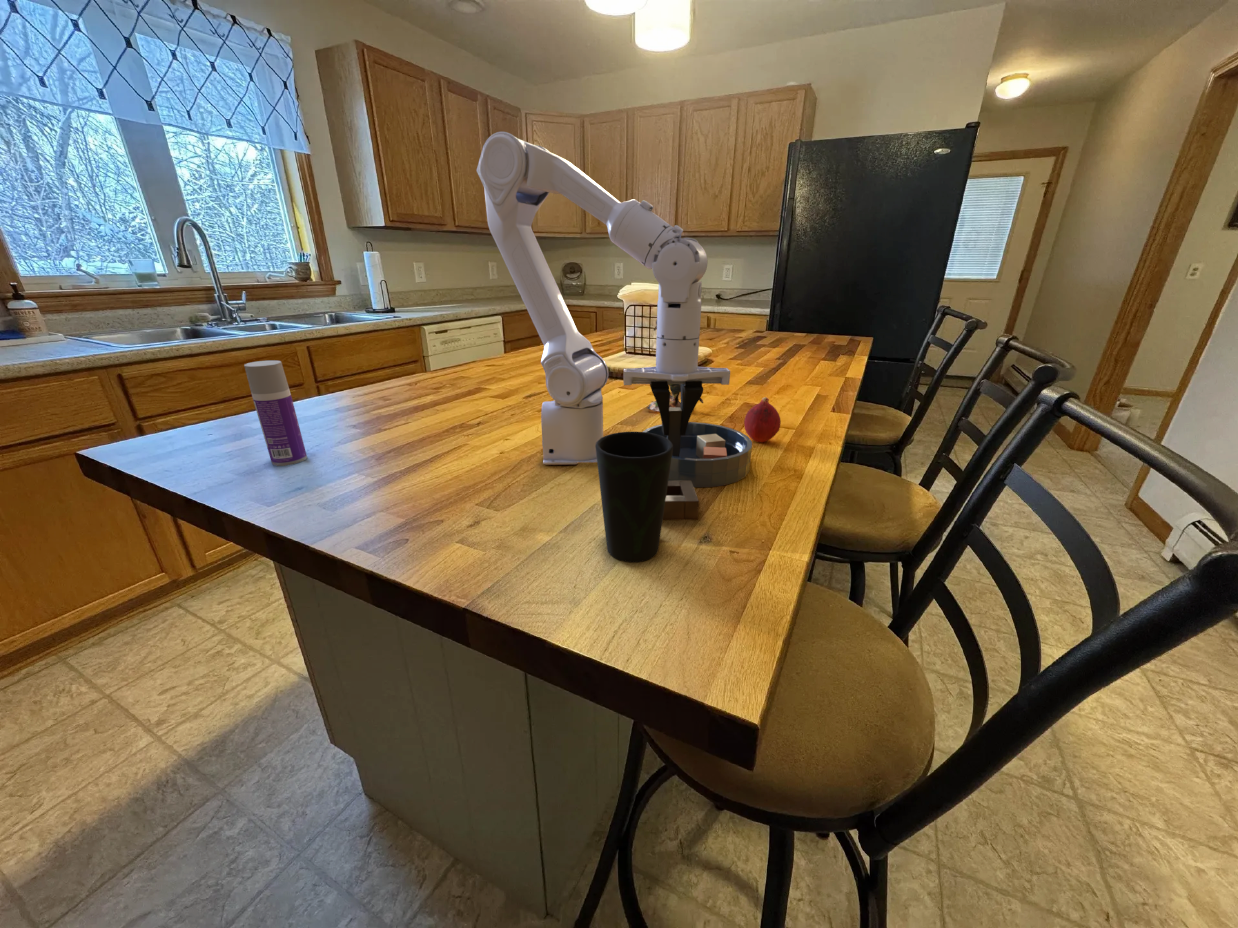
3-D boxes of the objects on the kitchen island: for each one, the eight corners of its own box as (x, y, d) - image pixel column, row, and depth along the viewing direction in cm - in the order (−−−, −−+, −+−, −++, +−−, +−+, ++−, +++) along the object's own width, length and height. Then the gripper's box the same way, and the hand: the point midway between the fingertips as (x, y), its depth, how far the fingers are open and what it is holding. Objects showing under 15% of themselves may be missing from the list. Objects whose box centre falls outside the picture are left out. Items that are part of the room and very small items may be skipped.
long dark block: (667, 457, 72) (669, 410, 69) (665, 452, 73) (667, 407, 70) (679, 457, 72) (682, 410, 69) (677, 452, 73) (680, 407, 71)
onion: (779, 451, 80) (785, 403, 77) (742, 448, 81) (747, 401, 78) (775, 439, 85) (781, 394, 82) (741, 436, 86) (746, 392, 83)
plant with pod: (691, 419, 95) (698, 312, 88) (640, 411, 101) (642, 309, 93) (707, 409, 102) (715, 309, 94) (658, 401, 107) (662, 306, 100)
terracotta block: (702, 475, 69) (703, 454, 68) (702, 466, 72) (703, 446, 71) (725, 476, 69) (727, 455, 68) (724, 468, 72) (726, 447, 71)
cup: (646, 576, 48) (649, 464, 44) (583, 553, 52) (579, 448, 47) (680, 541, 54) (686, 439, 50) (621, 523, 58) (621, 426, 53)
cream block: (704, 462, 74) (706, 442, 73) (695, 454, 77) (696, 435, 76) (723, 460, 75) (725, 440, 74) (714, 452, 78) (715, 433, 76)
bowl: (641, 491, 66) (641, 460, 64) (635, 448, 81) (635, 422, 79) (762, 490, 66) (766, 460, 65) (734, 447, 81) (736, 421, 80)
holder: (648, 524, 58) (649, 501, 57) (645, 501, 63) (645, 480, 62) (697, 523, 58) (699, 501, 57) (689, 501, 63) (691, 480, 62)
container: (314, 457, 77) (289, 361, 71) (284, 468, 73) (256, 367, 68) (294, 452, 79) (269, 359, 73) (264, 463, 75) (235, 364, 69)
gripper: (624, 341, 62) (624, 442, 67) (739, 341, 62) (729, 442, 67) (623, 334, 68) (622, 426, 74) (726, 333, 69) (719, 426, 74)
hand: (673, 433), depth 71 cm, fingers closed on long dark block, 2 cm apart
